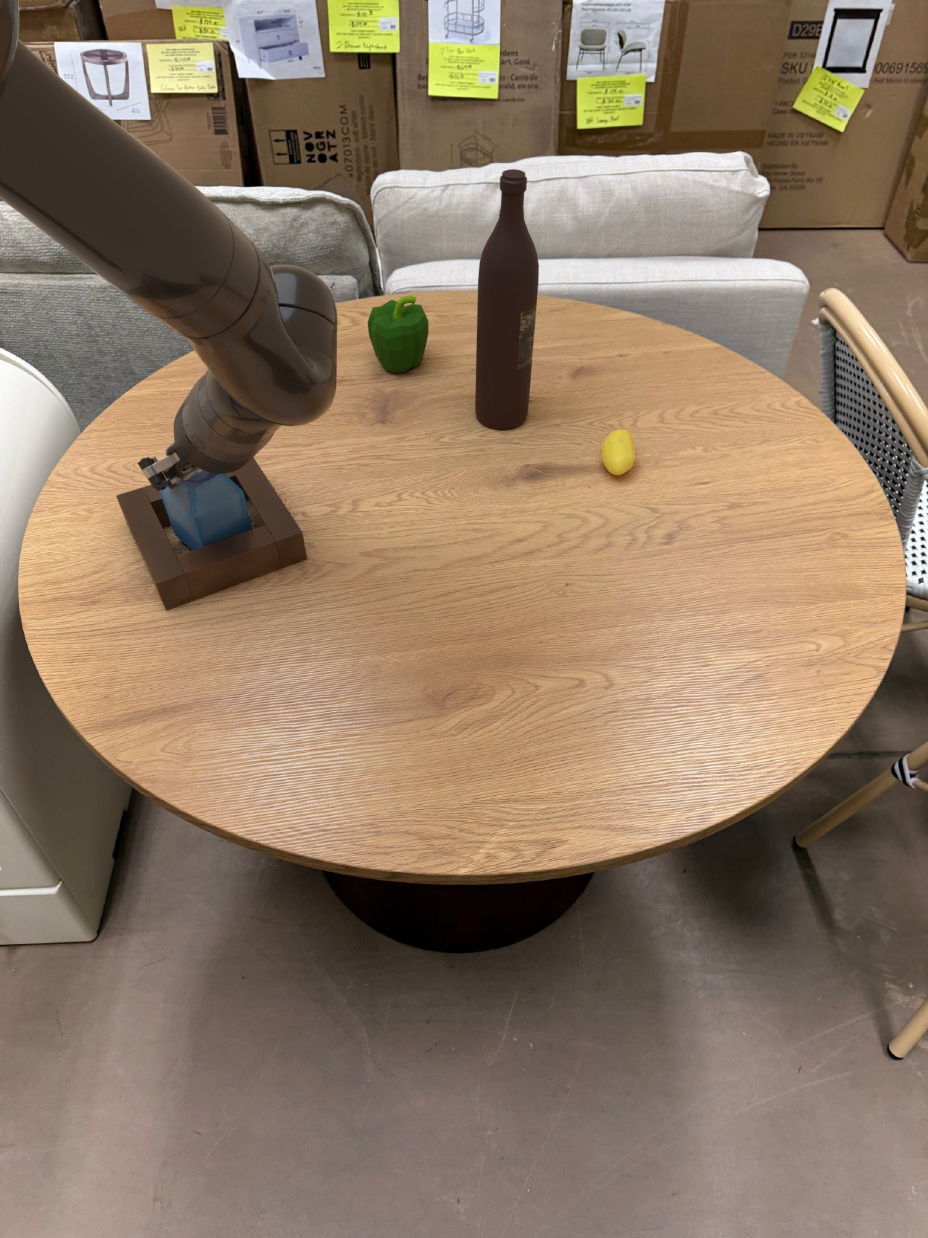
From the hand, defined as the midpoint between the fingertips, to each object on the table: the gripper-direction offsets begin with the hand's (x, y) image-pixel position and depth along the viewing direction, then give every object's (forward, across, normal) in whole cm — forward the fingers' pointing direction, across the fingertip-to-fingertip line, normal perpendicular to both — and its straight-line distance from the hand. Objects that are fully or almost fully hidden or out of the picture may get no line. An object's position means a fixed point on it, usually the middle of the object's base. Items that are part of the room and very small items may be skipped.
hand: (186, 469), depth 86 cm
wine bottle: (+1, -41, +12) cm, 43 cm away
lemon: (-11, -44, +24) cm, 51 cm away
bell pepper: (+14, -40, -2) cm, 42 cm away
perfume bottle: (+4, 0, +7) cm, 8 cm away
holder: (+5, 0, +8) cm, 9 cm away
